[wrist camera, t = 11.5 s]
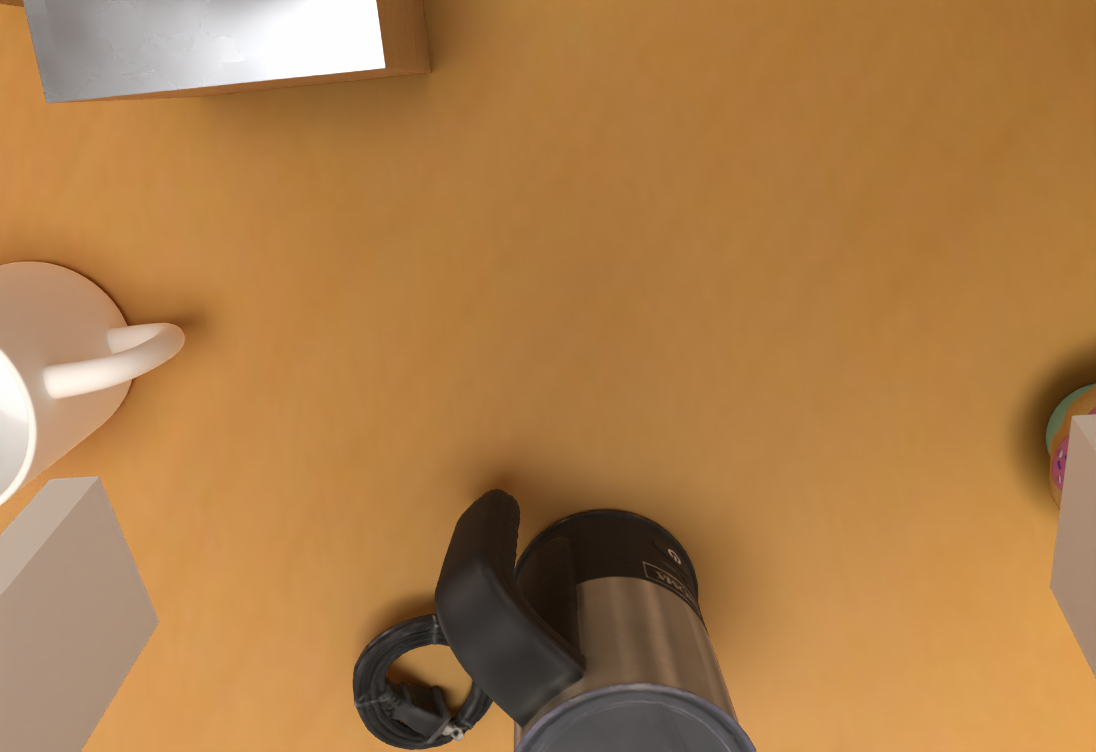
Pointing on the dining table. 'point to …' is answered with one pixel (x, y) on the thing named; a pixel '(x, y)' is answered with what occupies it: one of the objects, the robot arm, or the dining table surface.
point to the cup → (63, 365)
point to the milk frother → (560, 641)
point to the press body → (218, 45)
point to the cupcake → (1065, 434)
